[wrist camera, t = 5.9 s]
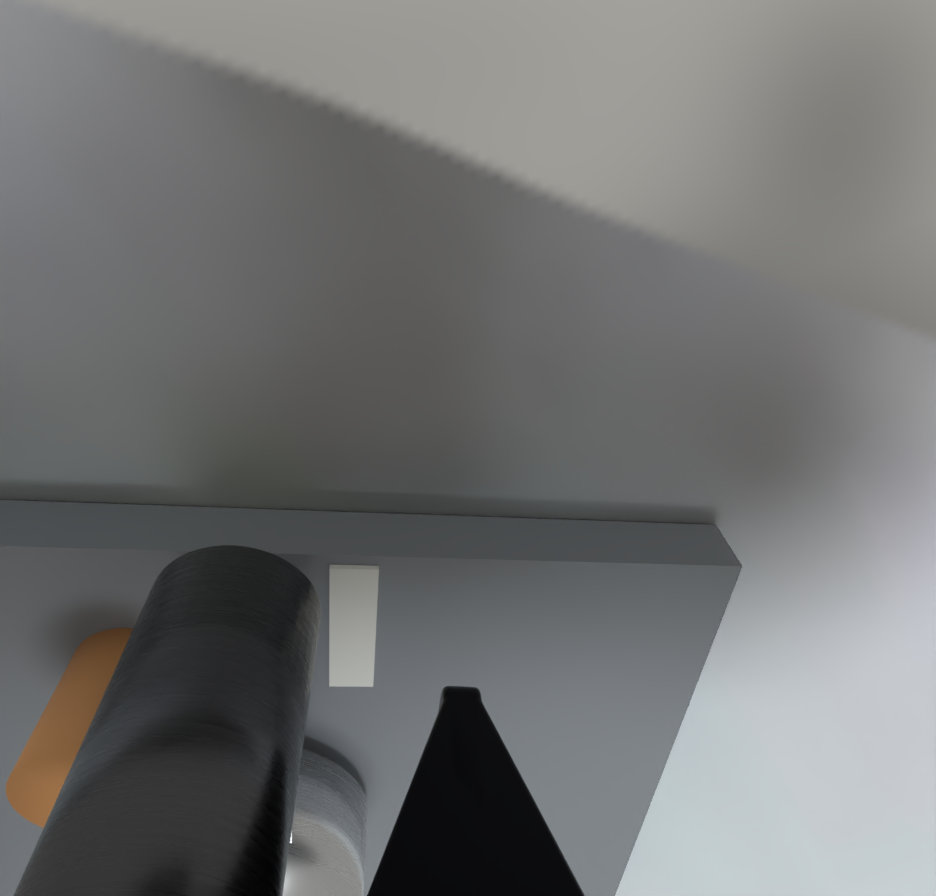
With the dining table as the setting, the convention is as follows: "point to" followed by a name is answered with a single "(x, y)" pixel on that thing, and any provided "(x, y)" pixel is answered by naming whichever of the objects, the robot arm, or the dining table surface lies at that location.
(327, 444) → the dining table surface
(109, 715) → the crank
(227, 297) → the dining table surface
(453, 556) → the base
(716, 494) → the dining table surface
